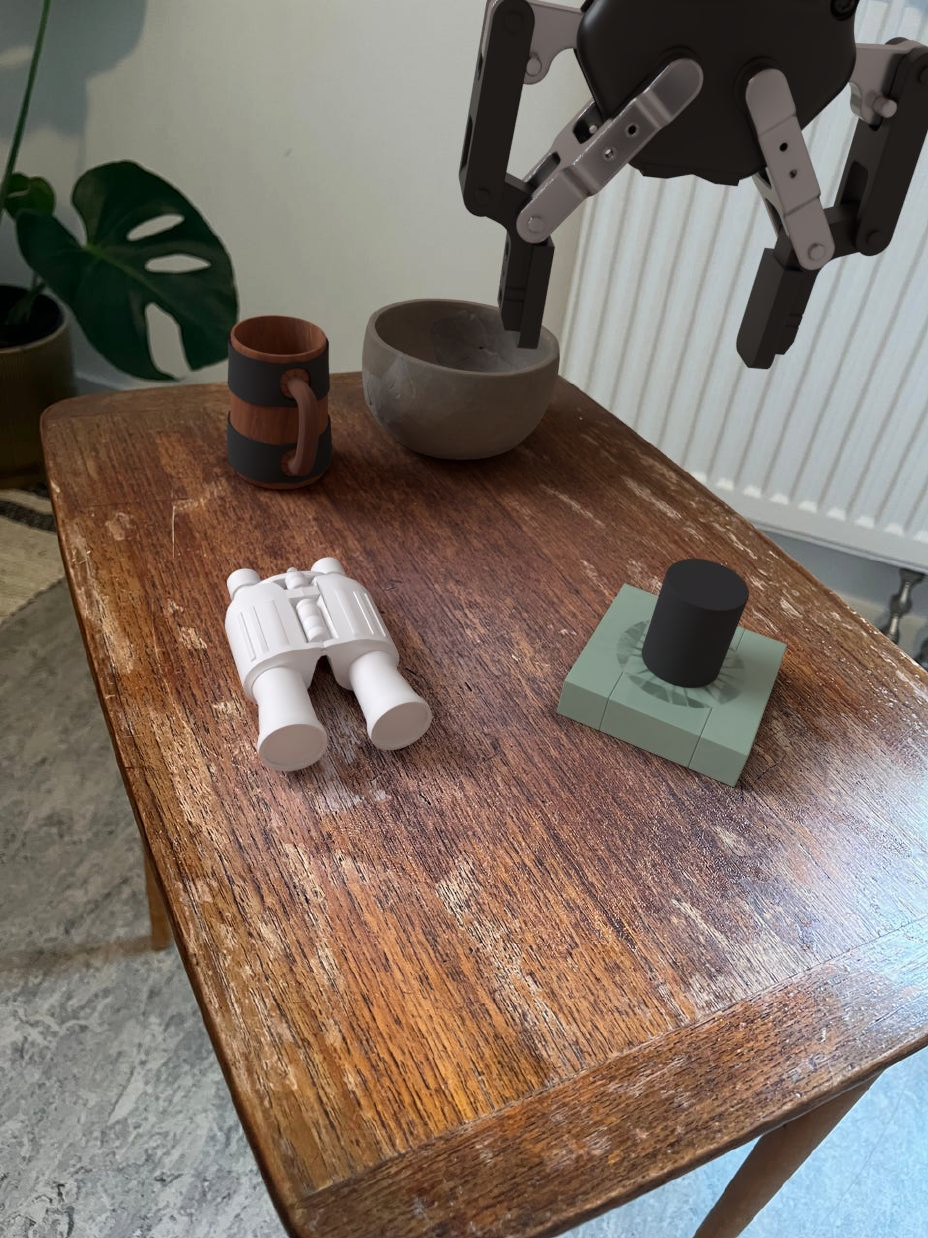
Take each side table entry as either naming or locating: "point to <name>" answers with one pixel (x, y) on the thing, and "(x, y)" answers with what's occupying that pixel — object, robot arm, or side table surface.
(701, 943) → the side table surface
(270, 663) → the binoculars
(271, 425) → the mug
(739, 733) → the green block with hole
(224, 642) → the side table surface
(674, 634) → the stopper
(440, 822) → the side table surface
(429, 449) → the bowl
